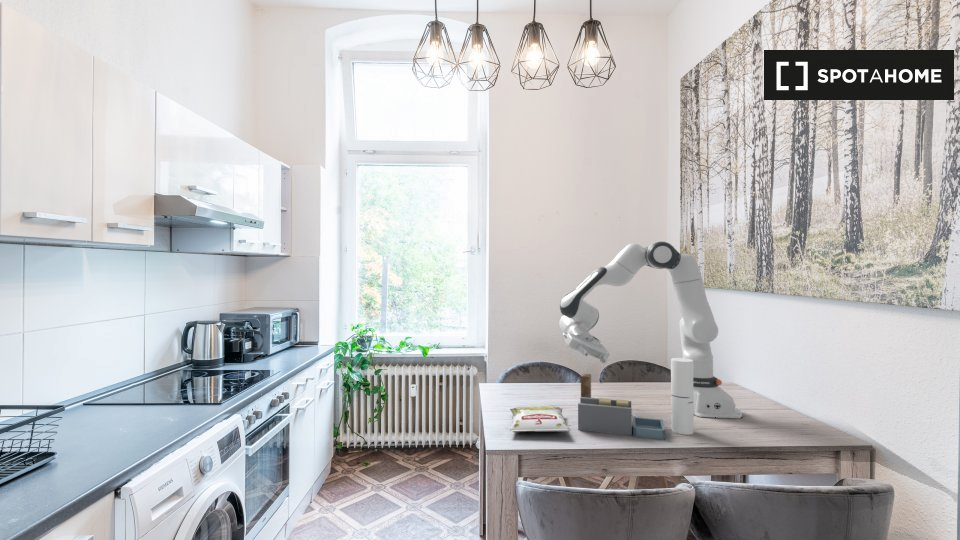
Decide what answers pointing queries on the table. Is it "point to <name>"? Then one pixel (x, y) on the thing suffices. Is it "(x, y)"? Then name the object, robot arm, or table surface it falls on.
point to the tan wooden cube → (622, 403)
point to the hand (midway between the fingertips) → (595, 357)
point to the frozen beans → (538, 419)
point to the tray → (648, 428)
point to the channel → (604, 417)
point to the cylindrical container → (682, 396)
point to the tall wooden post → (586, 385)
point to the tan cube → (604, 401)
